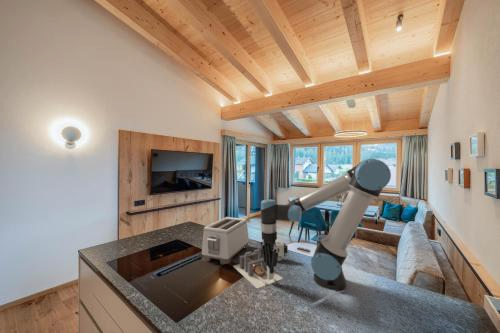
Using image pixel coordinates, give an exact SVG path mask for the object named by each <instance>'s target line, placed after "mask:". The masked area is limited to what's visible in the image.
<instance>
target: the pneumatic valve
mask: <svg viewBox="0 0 500 333" xmlns="http://www.w3.org/2000/svg"><path fill="white" fill-rule="evenodd" d="M275 243H276V247H277V249H278V248H279V252H278V259H277V262H282V261H283V257H286V254H288V253H289V252H288V245H286V242H280V241H275Z"/></svg>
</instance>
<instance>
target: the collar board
mask: <svg viewBox="0 0 500 333" xmlns="http://www.w3.org/2000/svg"><path fill="white" fill-rule="evenodd" d="M251 257H252V259H251V260H252V261H251V262H248V266H247V258H251ZM254 264H258V265H259V266H260V267H262V268H263V269H264V270H265V275H264V276H263V277H260V276H259V275H258V274H256V273H255V272H254V271H253V265H254ZM232 267H233V268H234V269H235V270H237V272H238V273H239V274H241V275H242V276H243V277H244V278H245V279H246V280H247V281H248V282H249V283H250V284H251V285H253V287H255V288H256V289H259V288H263V287H265V286H267V285H270V284H273V283H276V282H278V281H280V280H283V279H284V277H282V276H281V275H279V274H278V273H276V271H274V273H273V274H274V279H271V280H268V279H267V265H266V262H264V258H263V257H262V250H261V249H260V248H259V249H254V250H253V252H252V251H247V252H245V254H242V255H239V264H235V265H232Z"/></svg>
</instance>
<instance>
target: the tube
mask: <svg viewBox="0 0 500 333" xmlns="http://www.w3.org/2000/svg"><path fill="white" fill-rule="evenodd" d="M252 260H253V259H252V258H251V259H250V257H248V258H247V266H248V262H251V261H252ZM253 271H254V272H255V273H256V274H258V275H259V276H260V277H263V276H264V275H265V270H264V269H263V268H262V267H260V266H259V265H258V264H254V265H253Z"/></svg>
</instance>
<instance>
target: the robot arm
mask: <svg viewBox="0 0 500 333" xmlns="http://www.w3.org/2000/svg"><path fill="white" fill-rule="evenodd" d="M391 176H392V174H391V170H390V168H389V166H388V165H387V164H386V163H385V162H384V161H383V160H380V159H376V158H367V159H363V160H362V161H360V162H359V163H357V165H355V166H354V167H352V168H350V169H348V170H346V172H345V174H343V175H341V176H340V177H337V178H335V179H333V180H331V181H329V182H327V183H325V184H324V185H321V186H319V187H317V188H315V189H314V190H311V191H309V192H307V193H305V194H303V195H300V197H298V198H295V199H292V200H291V201H289V202H288V203H286V204H278V203H277V202H276V200H275V199H272V198H271V199H263V200H261V202H260V217H261V219H260V220H261V221H260V222H261V223H260V225H261V226H260V227H261V240H262V241H261V242H260V246H261V253H262V258H264V262H266V265H267V279H268V280H271V279H274V274H273V273H274V272H275V271H274V270H275V269H274V268H275V267H277V265H278V261H277V259H278V252H279V248H278V249H277V247H276V243H275V242H277V239H278V232H277V230H278V229H277V228H278V226H277V221H283V222H291V223H299V222H301V220H302V213H304V212H306V211H308V210H311V209H312V208H314V207H316V206H319V205H321V204H323V203H325V202H328V201H330V200H333V199H335V198H337V197H339V196H341V195H343V194H346V193H347V192H348V194H347V195H346V198H345V199H344V201H343V204H342V206H341V207H340V210H339V212H338V214H337V215H336V218H335V219H334V221H333V224H332V226H331V228H330V230H329V231H328V234H319V235H317V236H316V239H315V240H316V248H315V250H314V252H313V255H312V257H311V261H310V262H311V268H312V271H313V272H314V273H313V281H314V283H315V284H316V285H317V286H320V287H321V288H324V289H327V290H333V291H335V292H341V291H344V290H345V289H346V288H347V281H346V277H345V273H344V271H343V264H344V262H345V261H346V258H347V256H348V252H347V248H348V246H349V244H350V242H351V240H352V238H353V236H354V234H355V233H356V231H357V229H358V227H359V225H360V223H361V222H362V220H363V217H364V215H365V214H366V212H367V210H368V208H369V206H370V204H371V203H372V201H373V200H374V199H378V198H379V196H380V195H381V193H382V191H383V190H384V188H385V187H386V186H388V184H389V183H390V180H391Z"/></svg>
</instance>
